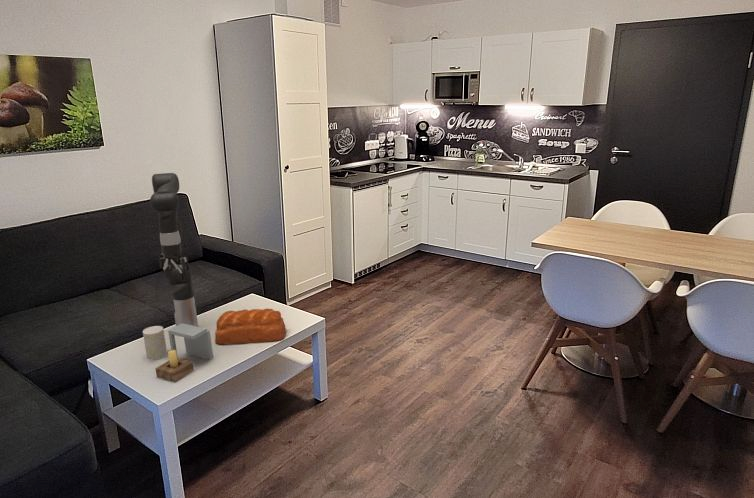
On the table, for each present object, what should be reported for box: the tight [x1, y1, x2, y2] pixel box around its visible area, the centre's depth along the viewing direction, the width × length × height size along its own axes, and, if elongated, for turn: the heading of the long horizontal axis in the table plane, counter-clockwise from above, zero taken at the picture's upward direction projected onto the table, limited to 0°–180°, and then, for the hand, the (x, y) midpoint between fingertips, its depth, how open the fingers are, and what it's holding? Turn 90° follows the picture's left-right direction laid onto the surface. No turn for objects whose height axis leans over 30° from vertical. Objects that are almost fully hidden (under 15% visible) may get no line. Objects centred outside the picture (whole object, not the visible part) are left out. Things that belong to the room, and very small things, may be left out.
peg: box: [167, 349, 178, 369], centre depth 202 cm, size 3×3×10 cm
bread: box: [214, 308, 286, 345], centre depth 233 cm, size 16×31×13 cm, turn 95°
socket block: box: [155, 357, 195, 383], centre depth 203 cm, size 10×10×4 cm
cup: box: [142, 325, 168, 361], centre depth 217 cm, size 8×8×12 cm
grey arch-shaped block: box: [167, 323, 214, 361], centre depth 212 cm, size 14×9×14 cm, turn 64°
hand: (176, 279), depth 208 cm, fingers open, 8 cm apart
